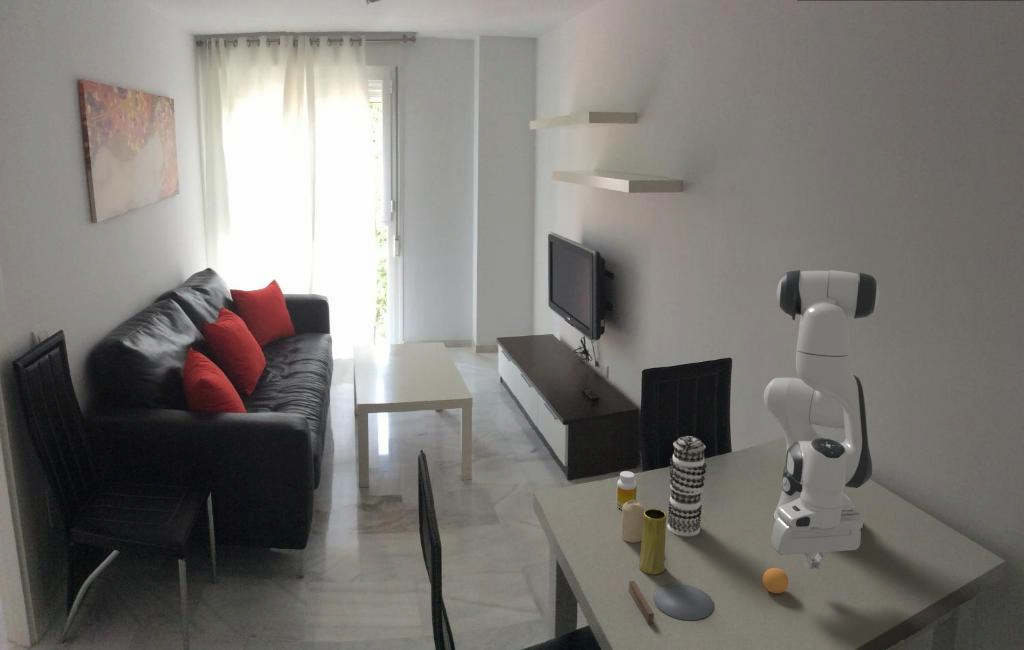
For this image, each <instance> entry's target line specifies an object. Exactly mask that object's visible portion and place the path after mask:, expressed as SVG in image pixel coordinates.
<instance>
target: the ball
mask: <svg viewBox="0 0 1024 650" xmlns="http://www.w3.org/2000/svg"><path fill="white" fill-rule="evenodd" d="M762 584H763V585H764V587H765V589H766V590H767V591H768V592H770V593H772V594H782V593H783V592H785V591H786V590H787V589H788V586H789V578H788V575H787V573H786V572H784V571H783V570H782V569H781V568H777V567H770V568H768V569H767V570H765V572H764V573H763V576H762Z"/></svg>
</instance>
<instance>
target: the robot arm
mask: <svg viewBox="0 0 1024 650" xmlns="http://www.w3.org/2000/svg"><path fill="white" fill-rule="evenodd" d="M878 285H879V284H878V283H877V279H876V278H875V277H874V276H873V275H871V274H867V273H864V272H858V273H855V272H851V271H843V270H834V269H832V270H831V269H829V270H804V271H801V270H799V269H796V270H790V271H787V272H785V273H784V274H783V275H782V276H781V279H780V281H779V282H778V283H777V287H776V298H777V302H778V304H779V308H780V309H781V310H782V311H783V312H784V314H787V315H789V316H791V320H792V321H796V315H798V316H800V319H799V325H798V335H797V340H796V349H795V350H796V351H795V371H796V373H797V375H798V377H799V378H798V377H797V378H796V377H774V378H773V379H772V380H770V381H769V382H768V384H767V385H766V387H765V389H764V391H763V402H764V405H765V407H766V408H765V409H766V410H767V411H768V412H769V413H770V414H771V415H772V416H773V417H774V418H775V419H776V420H777V422H778V423H779V425H780V427H781V429H782V431H783V433H784V436H785V441H786V454H785V455H786V457H785V466H784V467H783V469H782V470H783V471H782V478H781V493H780V496H779V501H778V504H777V505H776V509H775V511H774V513H773V517H774V520H775V521H774V523H773V527H772V531H771V537H770V545H771V548H772V549H773V550H774V551H775V552H776V553H777V554H778V555H780V556H785V555H801V554H802V556H803V558H804V567H805V568H806V569H807V570H817V569H821V567H822V563H823V562H824V561H825V559H826V558H827V557H828V553H831V552H842V551H845V552H846V551H856V550H858V549H859V547H860V545H861V539H862V537H861V536H862V535H861V534H862V533H861V529H863V525H864V523H863V521H862V515H861V513H860V512H859V511H857V510H856V509H855V507H854V502H852V500H851V498H849V496H847V494H845V493H844V492H843V491H844V489H845V487H847V488H853V489H858V488H860V487H862V486H863V485H864V484H865V483H867V482H868V481H869V480H870V479H871V478H872V474H873V461H872V457H871V451H870V447H869V437H868V427H867V426H868V425H867V422H868V421H869V419H870V416H871V403H870V400H869V398H868V397H867V396H866V394H865V393H864V388H863V385H862V382H861V380H860V378H859V376H856V375H855V374H853V372H852V369H851V367H850V362H849V356H850V355H849V354H850V324H849V323H850V322H849V318H853V319H863V318H867V317H870V315H872V314H873V313H874V311H875V309H876V308H877V305H878V304H879V299H880V288H879V286H878ZM813 425H815V426H818V427H819V426H820V427H823V428H829V429H833V430H839V431H841V430H842V431H844V435H845V439H844V441H843V442H838V441H837V440H834V439H831V438H825V437H824V436H822V435H821V434H820V433H818V432H817V430H816V429H815V428H814V427H813ZM813 553H814V554H815V553H816V555H815V557H814V558H811V557H813Z"/></svg>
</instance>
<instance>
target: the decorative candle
mask: <svg viewBox="0 0 1024 650" xmlns="http://www.w3.org/2000/svg"><path fill="white" fill-rule="evenodd" d="M672 445H673V454H672V456H671V458H670V459H669V464H670V465H671V466H670V467H669V469H670V472H669V478H670V479H669V484H670V485H669V487H670V489H671V492H670V496H669V497H670V498H669V500H668V513H667V520H666V523H667V524H666V526H667V527H666V528H667V529H668V531H670V533H672V534H675V535H677V536H681V537H693V536H696V535H698V534H699V533H700V531H701V528H700V527H701V521H702V520H701V519H702V516H701V515H702V497H701V496H702V493H703V491H704V486H705V484H704V483H705V482H704V481H705V480H706V478H705V476H704V475H705V474H706V473H707V472H706V471H707V470H706V468H707V464H706V462H705V450H706V448H707V447H706V444H704V443H703V442H702V440H701V439H699V438H698V437H695V436H691V435H685V436H680V437H678V438H677V440H675V441H673V443H672Z"/></svg>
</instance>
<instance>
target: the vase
mask: <svg viewBox="0 0 1024 650" xmlns="http://www.w3.org/2000/svg"><path fill="white" fill-rule="evenodd" d="M666 526H667V514H666V512H665V511H664V510H662V509H658V508H648V509H646V510H645V509H644V516H643V532H642V540H641V543H640V544H641V545H640V555H639V563H638V567H639V570H641V572H644V573H645V574H648V575H659V574H662V573H664V571H665V567H666V566H665V560H666V557H665V556H666V555H665V554H666V533H667V532H666V531H667V530H666V528H667V527H666Z"/></svg>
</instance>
